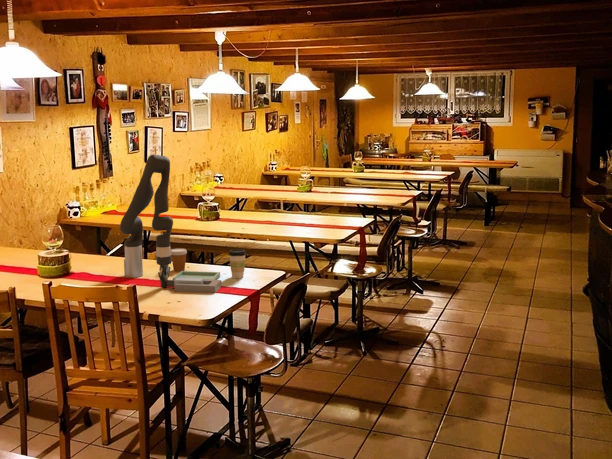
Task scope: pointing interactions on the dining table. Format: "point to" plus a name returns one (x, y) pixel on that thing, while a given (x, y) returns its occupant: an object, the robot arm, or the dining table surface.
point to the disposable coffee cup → (178, 259)
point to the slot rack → (200, 287)
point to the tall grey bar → (183, 281)
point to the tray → (198, 275)
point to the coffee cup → (237, 262)
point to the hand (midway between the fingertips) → (164, 287)
